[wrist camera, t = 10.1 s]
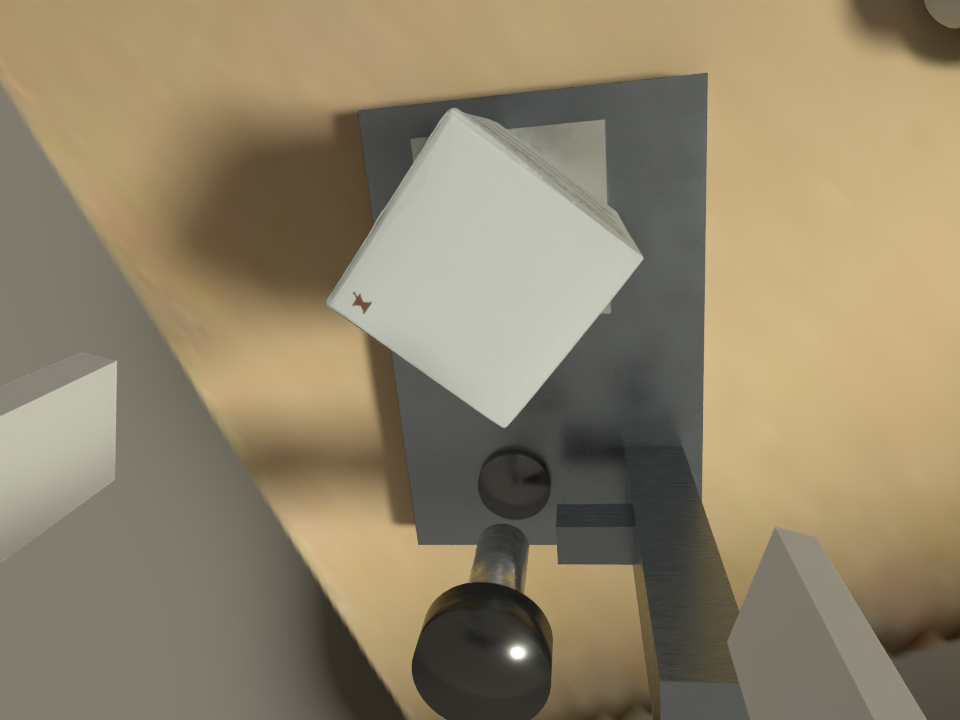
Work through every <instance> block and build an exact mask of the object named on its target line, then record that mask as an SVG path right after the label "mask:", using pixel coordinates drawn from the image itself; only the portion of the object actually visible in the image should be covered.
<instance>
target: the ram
mask: <svg viewBox="0 0 960 720" xmlns="http://www.w3.org/2000/svg"><path fill="white" fill-rule="evenodd" d="M528 554H529V543H528V540H527V537H526V536H525V534H524V533H523V532H522V531H521V530H519V529H518V528H516V527H515V526H512V525H509V524H494V525H491V526H489V527H488V528H486V529H485V530H484V531H483V532H482V533H481V535H480V537H479V541H478V545H477V549H476V553H475V557H474V561H473V565H472V570H471V574H470V578H469V582H468V583H466V584H462V585H459V586H456V587H454V588H451V589H449V590H447V591H446V592H444V593H443V594H441V595H440V596H439V597H438V598H437V599H436V600H435V601H434V602H433V603H432V605H431V606H430V608H429V610H428V612H427V614H426V617H425V620H424V624H423V627H422V630H421V633H420V636H419V640H418V643H417V646H416V649H415V652H414V656H413V660H412V675H413V680H414V683H415V686H416V688H417V690H418V692H419V694H420V695H421V697H422V698H423V700H424V701H425V702H426V703H427V704H428V705H429V706H430V707H431V708H432V709H433V710H434V711H435V712H436V713H438V714H439V715H440V716H442V717H443V718H445V719H447V720H530V719H532V718H533V717H534V716H536V715H537V714H538V713H539V712H540V710H541V709H542V708H543V707H544V705H545V703H546V701H547V699H548V696H549V694H550V688H551V671H552V649H553V637H552V631H551V627H550V624H549V622H548V620H547V618H546V616H545V615H544V613H543V612H542V610H541V609H540V608H539V607H538V606H537V605H536V604H535V603H534V602H533V601H532V600H531V599H530V598H528V597H527V596H525V595H524V589H525V580H526V571H527V562H528Z"/></svg>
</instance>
